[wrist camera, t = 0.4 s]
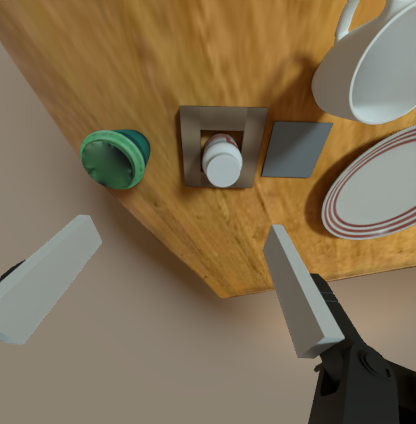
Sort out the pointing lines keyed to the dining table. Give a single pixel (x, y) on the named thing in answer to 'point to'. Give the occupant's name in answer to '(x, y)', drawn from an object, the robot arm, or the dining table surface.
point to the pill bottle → (222, 160)
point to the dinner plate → (375, 191)
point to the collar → (221, 120)
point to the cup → (115, 157)
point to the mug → (370, 66)
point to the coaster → (294, 148)
